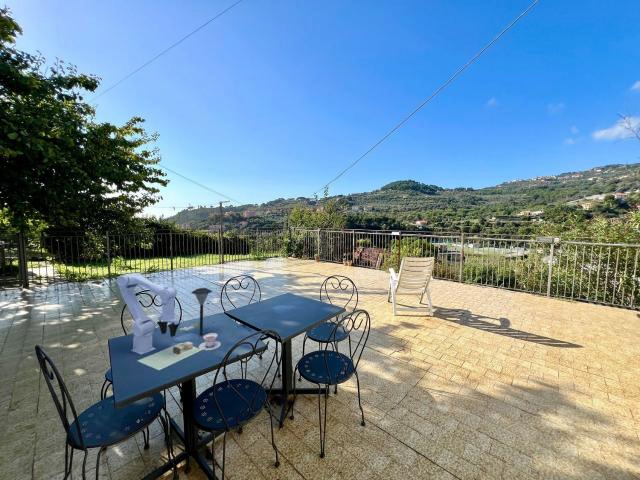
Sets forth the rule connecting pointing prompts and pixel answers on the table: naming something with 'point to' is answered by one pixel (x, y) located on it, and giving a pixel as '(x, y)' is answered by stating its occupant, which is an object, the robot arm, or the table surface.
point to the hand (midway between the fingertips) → (168, 334)
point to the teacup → (210, 342)
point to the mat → (166, 357)
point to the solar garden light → (201, 303)
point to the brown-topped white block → (182, 348)
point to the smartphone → (190, 327)
